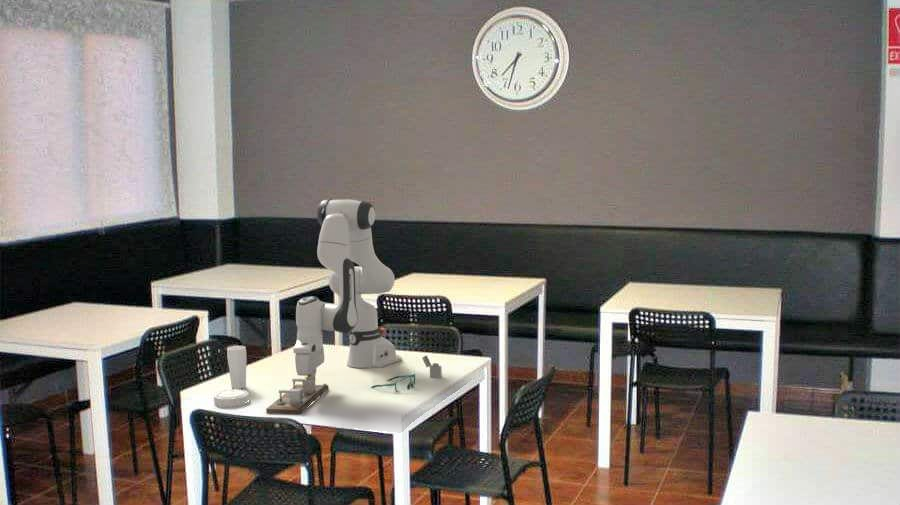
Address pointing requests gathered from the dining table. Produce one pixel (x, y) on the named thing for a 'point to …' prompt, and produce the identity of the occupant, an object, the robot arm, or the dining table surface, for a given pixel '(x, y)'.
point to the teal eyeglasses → (398, 381)
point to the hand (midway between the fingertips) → (311, 381)
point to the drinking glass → (237, 366)
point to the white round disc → (231, 398)
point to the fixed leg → (299, 396)
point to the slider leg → (306, 384)
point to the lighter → (433, 368)
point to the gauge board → (286, 408)
